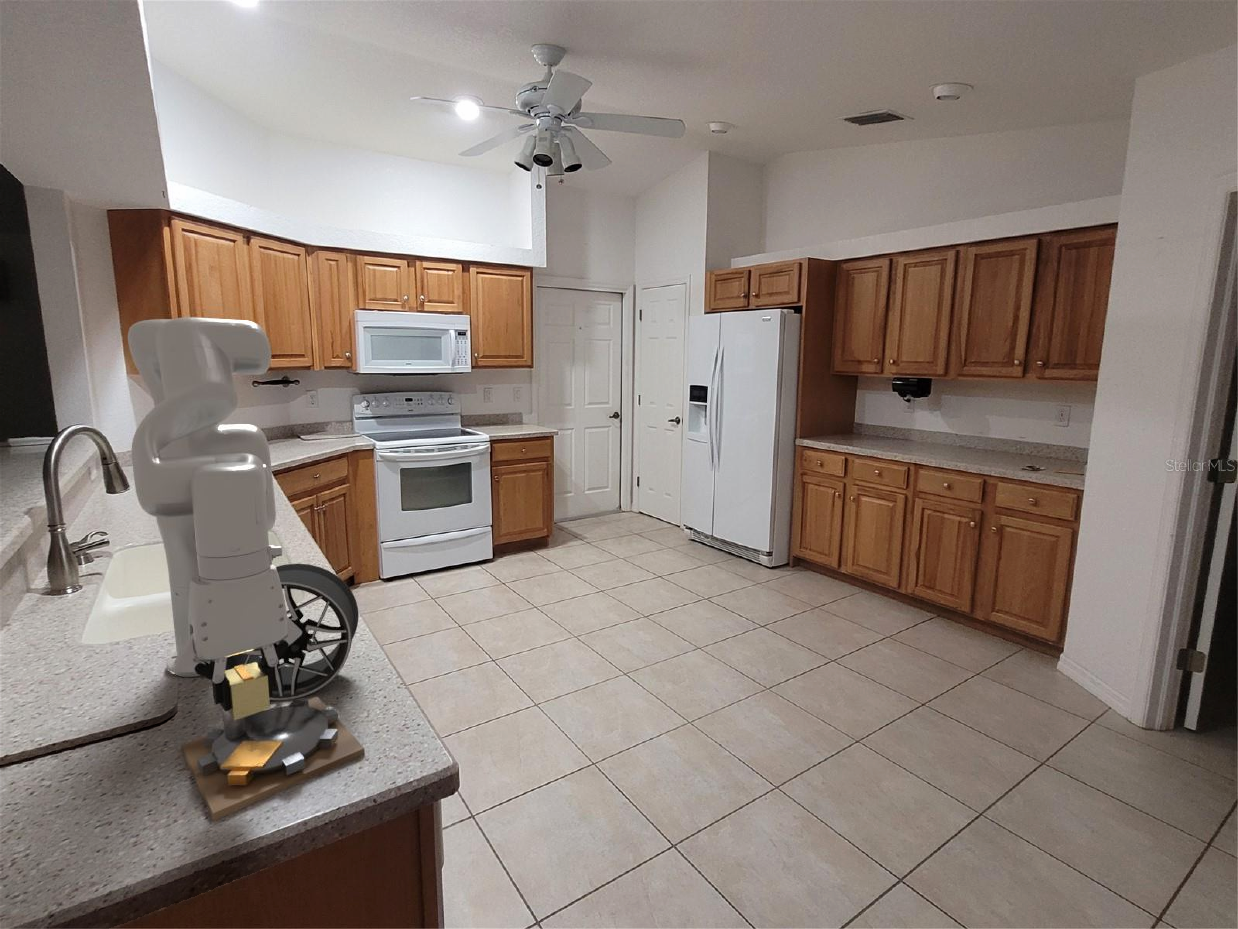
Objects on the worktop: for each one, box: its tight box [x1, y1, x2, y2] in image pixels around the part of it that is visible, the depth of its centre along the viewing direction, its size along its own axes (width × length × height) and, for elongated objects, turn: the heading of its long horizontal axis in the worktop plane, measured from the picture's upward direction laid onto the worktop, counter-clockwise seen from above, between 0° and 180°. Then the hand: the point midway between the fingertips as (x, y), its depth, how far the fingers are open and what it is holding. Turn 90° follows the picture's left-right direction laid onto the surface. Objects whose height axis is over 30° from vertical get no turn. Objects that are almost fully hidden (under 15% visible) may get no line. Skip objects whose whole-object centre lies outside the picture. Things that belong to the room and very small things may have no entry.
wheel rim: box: [225, 563, 360, 701], centre depth 100 cm, size 20×9×20 cm, turn 105°
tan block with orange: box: [225, 662, 271, 721], centre depth 77 cm, size 5×4×5 cm
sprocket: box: [197, 699, 339, 785], centre depth 83 cm, size 17×17×8 cm
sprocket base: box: [180, 696, 366, 821], centre depth 84 cm, size 18×18×1 cm
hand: (246, 698), depth 77 cm, fingers closed on tan block with orange, 4 cm apart
